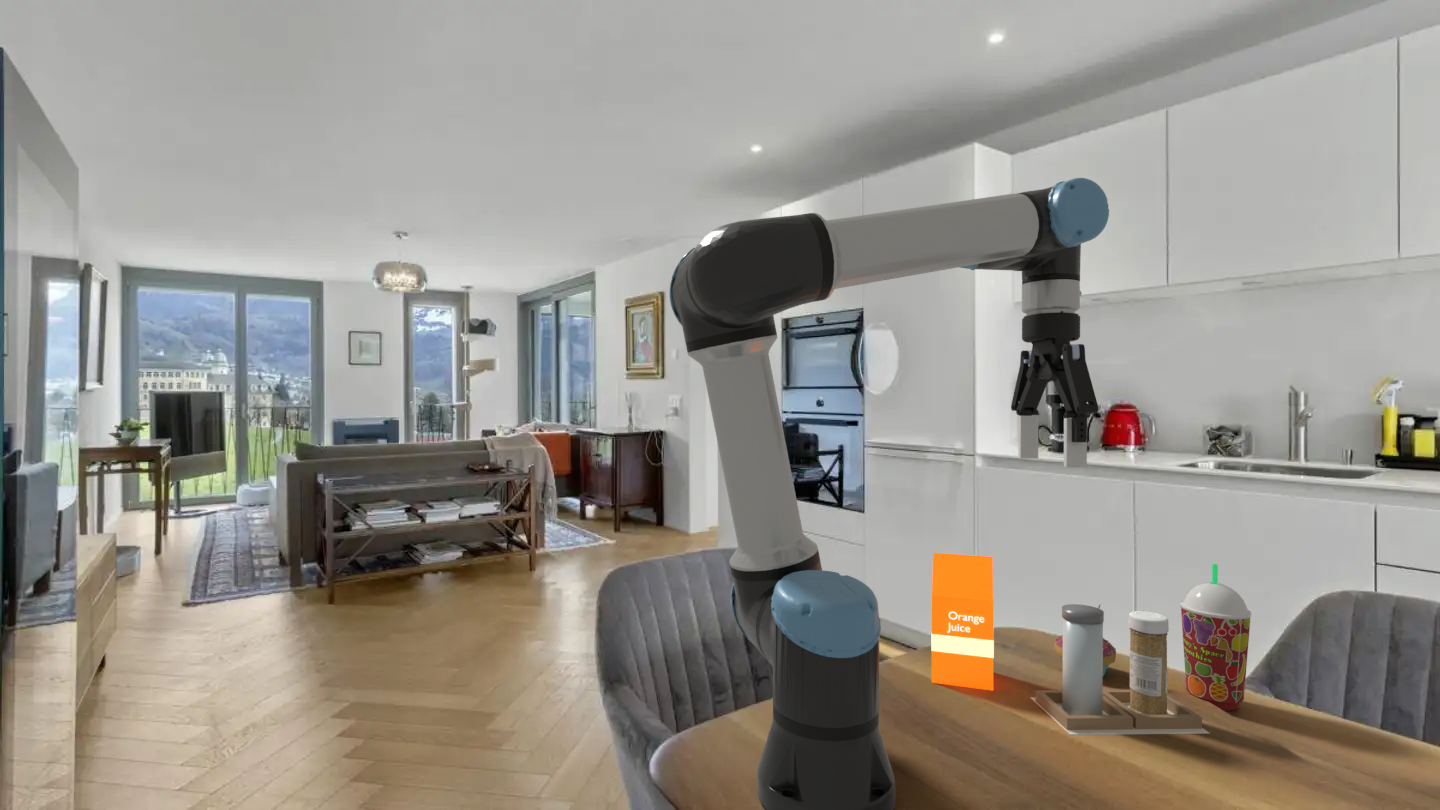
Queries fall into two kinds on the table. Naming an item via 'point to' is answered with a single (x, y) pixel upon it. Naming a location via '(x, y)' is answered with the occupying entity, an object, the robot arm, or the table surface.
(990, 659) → the orange juice
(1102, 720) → the frame
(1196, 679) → the smoothie
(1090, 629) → the white bottle
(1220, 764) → the table surface
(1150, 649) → the spice jar
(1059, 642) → the cupcake
